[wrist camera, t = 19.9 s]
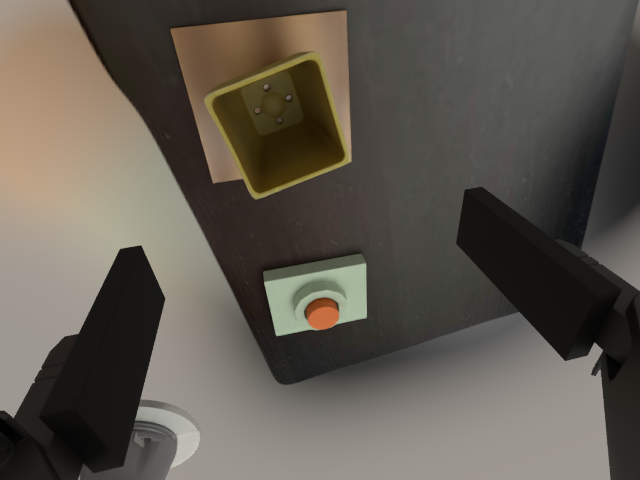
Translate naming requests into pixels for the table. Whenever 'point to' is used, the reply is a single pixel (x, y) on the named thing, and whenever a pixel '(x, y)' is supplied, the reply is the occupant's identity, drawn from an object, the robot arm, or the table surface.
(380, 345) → the table surface
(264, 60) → the brown wooden board
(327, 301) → the round orange button
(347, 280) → the green button base
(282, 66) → the flower pot
